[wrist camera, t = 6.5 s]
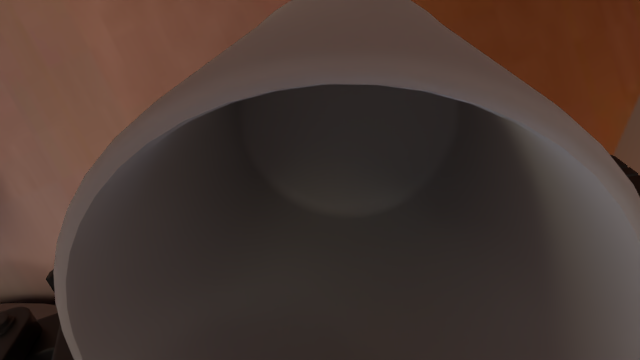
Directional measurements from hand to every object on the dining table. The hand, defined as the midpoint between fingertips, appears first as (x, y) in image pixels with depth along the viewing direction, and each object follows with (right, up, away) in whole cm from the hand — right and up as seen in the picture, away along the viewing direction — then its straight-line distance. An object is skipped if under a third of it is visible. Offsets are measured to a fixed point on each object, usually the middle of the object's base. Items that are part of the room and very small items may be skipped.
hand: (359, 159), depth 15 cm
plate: (-27, -22, +29) cm, 46 cm away
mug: (+1, +1, +1) cm, 2 cm away
